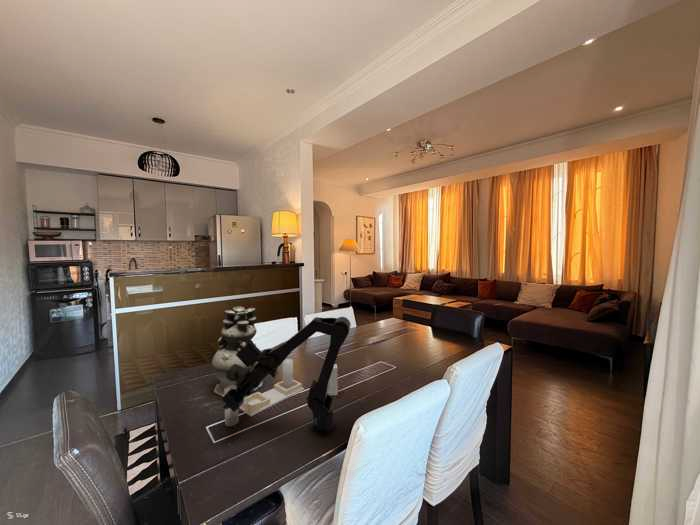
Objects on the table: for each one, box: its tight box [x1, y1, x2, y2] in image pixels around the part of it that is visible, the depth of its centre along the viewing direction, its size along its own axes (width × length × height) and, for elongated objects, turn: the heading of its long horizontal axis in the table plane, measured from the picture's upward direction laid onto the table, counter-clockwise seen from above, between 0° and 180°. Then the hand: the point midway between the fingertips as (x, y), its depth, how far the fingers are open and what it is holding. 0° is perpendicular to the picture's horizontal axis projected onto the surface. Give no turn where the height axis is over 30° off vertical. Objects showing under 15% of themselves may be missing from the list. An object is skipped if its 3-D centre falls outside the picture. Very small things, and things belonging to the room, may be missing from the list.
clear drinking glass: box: [224, 385, 239, 427], centre depth 100 cm, size 4×4×12 cm
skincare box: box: [328, 363, 339, 396], centre depth 120 cm, size 6×4×12 cm
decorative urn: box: [211, 306, 264, 398], centre depth 125 cm, size 21×21×35 cm
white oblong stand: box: [238, 358, 305, 417], centre depth 116 cm, size 10×25×13 cm, turn 140°
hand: (227, 404), depth 100 cm, fingers closed on clear drinking glass, 4 cm apart
